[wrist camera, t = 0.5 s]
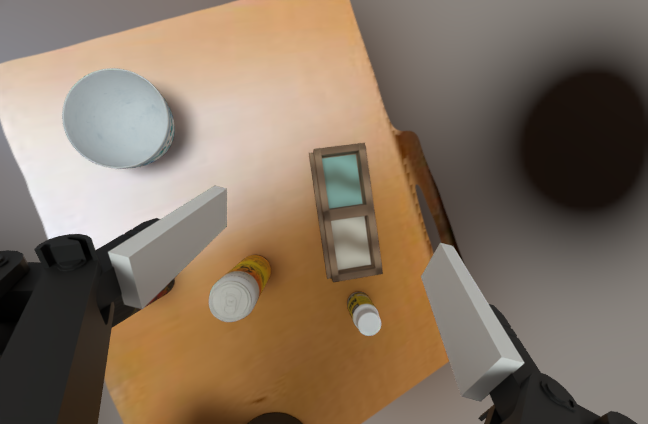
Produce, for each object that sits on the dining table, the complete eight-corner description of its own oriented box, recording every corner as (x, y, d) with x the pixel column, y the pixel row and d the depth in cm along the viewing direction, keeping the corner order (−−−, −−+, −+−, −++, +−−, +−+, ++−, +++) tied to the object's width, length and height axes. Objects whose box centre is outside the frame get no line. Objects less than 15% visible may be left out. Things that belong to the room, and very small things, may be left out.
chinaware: (210, 135, 43) (189, 120, 35) (151, 192, 42) (117, 188, 35) (149, 76, 42) (114, 47, 34) (88, 133, 41) (39, 116, 34)
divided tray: (380, 267, 46) (386, 273, 42) (326, 276, 45) (328, 283, 42) (363, 147, 45) (369, 142, 42) (309, 154, 45) (309, 149, 41)
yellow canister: (273, 256, 44) (257, 281, 29) (269, 287, 44) (250, 327, 30) (241, 252, 44) (208, 275, 29) (237, 283, 44) (202, 322, 29)
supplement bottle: (349, 289, 46) (359, 307, 37) (371, 293, 46) (386, 312, 38) (344, 312, 46) (352, 336, 37) (366, 316, 46) (380, 340, 38)
